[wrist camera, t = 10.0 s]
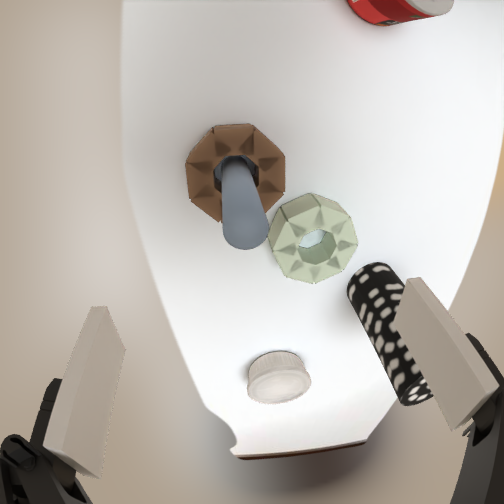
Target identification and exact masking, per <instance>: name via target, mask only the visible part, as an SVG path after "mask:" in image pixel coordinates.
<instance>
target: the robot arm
mask: <svg viewBox="0 0 504 504" xmlns="http://www.w3.org/2000/svg"><path fill="white" fill-rule="evenodd" d="M393 324H394V326H395V327H396V329H397V331H398V332H399V334H400V336H401V338H402V339H403V341H404V343H405V344H406V346H407V348H408V350H409V351H410V353H411V355H412V357H413V358H414V360H415V362H416V364H417V366H418V367H419V369H420V371H421V373H422V375H423V377H424V378H425V380H426V382H427V384H428V386H429V388H430V390H431V392H432V394H433V395H434V397H435V399H436V401H437V403H438V405H439V407H440V409H441V411H442V413H443V415H444V417H445V419H446V421H447V423H448V426H449V427H450V430H451V431H453V430H455V429H457V428H459V427H461V426H463V425H465V424H466V423H467V422H468V421H469V420H470V419H471V418H473V420H474V422H473V423H472V424H471V425H470V426H469V427H468V428H467V429H466V430H465V431H464V432H463V435H462V436H465V435H466V434H467V433H468V432H469V431H470V433H469V435H468V436H467V437H469V439H468V443H467V448H466V452H465V456H464V460H463V464H462V468H461V471H460V475H459V479H458V482H457V484H456V488H455V491H454V494H453V497H452V499H451V502H450V504H504V378H503V376H502V374H501V373H500V371H499V370H498V368H497V367H496V365H495V364H494V362H493V361H492V360H491V358H490V357H489V355H488V354H487V352H486V351H484V348H483V346H482V345H481V344H480V342H479V341H478V340H477V339H476V338H475V337H474V336H472V335H471V334H470V333H467V334H464V332H463V331H462V330H461V328H460V327H459V326H458V324H457V323H456V322H455V320H454V319H453V318H452V316H451V315H450V314H449V312H448V311H447V310H446V308H445V307H444V306H443V305H442V303H441V302H440V301H439V300H438V298H437V297H436V296H435V295H434V293H433V292H432V291H431V290H430V288H429V287H428V286H427V285H426V284H425V282H424V281H423V280H422V279H421V278H420V277H417V278H411V279H407V282H406V285H405V288H404V291H403V295H402V298H401V301H400V304H399V307H398V310H397V313H396V316H395V319H394V322H393ZM125 351H126V349H125V347H124V345H123V343H122V341H121V338H120V336H119V334H118V332H117V329H116V327H115V325H114V323H113V320H112V318H111V315H110V313H109V311H108V308H107V306H98V307H91V309H90V312H89V314H88V316H87V318H86V320H85V323H84V325H83V328H82V330H81V332H80V335H79V337H78V340H77V342H76V345H75V347H74V350H73V352H72V355H71V358H70V360H69V363H68V366H67V369H66V371H65V374H64V377H63V379H57V378H54V379H53V381H52V382H51V383H50V384H49V386H48V387H47V389H46V391H45V394H44V397H43V401H42V403H41V406H40V411H39V412H38V415H37V419H36V422H35V425H34V428H33V432H32V435H31V439H30V442H28V441H27V440H25V439H24V438H23V437H21V436H20V435H16V434H13V435H9V436H8V437H6V438H5V439H4V441H3V443H2V444H1V448H0V504H93V503H92V502H91V500H90V499H89V497H88V496H87V494H86V492H85V491H84V489H83V487H82V486H81V484H80V482H79V481H78V479H77V478H76V477H75V474H76V471H77V472H79V473H80V474H82V475H83V476H87V477H92V478H97V479H101V477H102V469H103V461H104V455H105V448H106V442H107V436H108V430H109V425H110V419H111V414H112V409H113V404H114V399H115V394H116V389H117V384H118V380H119V376H120V371H121V367H122V363H123V359H124V355H125Z"/></svg>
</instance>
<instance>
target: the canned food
mask: <svg viewBox="0 0 504 504" xmlns="http://www.w3.org/2000/svg"><path fill="white" fill-rule="evenodd" d="M347 1H348V3H349V5H350V6H351V8H352V9H353V10H354V12H355V13H356V14H357V15H359V16H360V17H361V18H362V19H364V20H366V21H368V22H369V23H372V24H375V25H380V26H390V25H394V24H399V23H403V22H408V21H413V20H418V19H424V18H429V17H434V16H439V15H443V14H446V13H447V12H449V11H450V10H451V8H452V6H453V3H454V0H347Z"/></svg>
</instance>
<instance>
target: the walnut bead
mask: <svg viewBox="0 0 504 504" xmlns="http://www.w3.org/2000/svg"><path fill="white" fill-rule="evenodd" d="M235 155H246V156H247V157H248V158H249V159H250V160H251V161H252V162H254V163H255V175H254V176H253V177H252V178H253V181H254V184H255V186H256V189H257V192H258V195H259V198H260V201H261V203H262V206H263V209H264V212H265V213H266V212H267V211H268V210H269V209H270V208H271V207H272V206H273V205H274V204H275V203H276V202H277V201H278V200H279V199H280V198H281V197H282V196H283V195H284V194H283V192H285V156H284V154H283V153H282V152H281V151H280V149H279V148H278V147H277V146H276V145H274V144H273V143H272V142H271V141H270V140H269V139H268V138H267V137H266V136H265V135H263V134H262V133H261V132H260V131H259V130H258V129H257V128H256V127H254V126H253V125H250V124H234V125H220V126H215V128H213V127H212V128H211V129H210V130H209V131H208V132H207V134H206V135H205V136H204V137H203V138H202V139H201V140H200V142H199V143H198V144H197V145H196V146H195V147H194V148H193V150H192V151H191V152H190V154H189V156H188V158H187V160H186V163H185V166H186V175H187V184H188V193H189V199H191V202H192V203H194V204H195V205H196V206H198V207H199V208H200V209H201V210H203V211H204V212H205V213H207V214H208V215H209V216H211V217H212V218H213V219H215V220H216V221H217V222H219V221H220V220H221V223H223V219H222V182H221V181H219V180H218V179H217V178H216V177H215V172H214V168H215V167H216V166H217V165H218V164H219V163H220V162H221V161H222V159H223V158H224V157H225V156H235Z"/></svg>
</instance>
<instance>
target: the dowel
mask: <svg viewBox="0 0 504 504" xmlns="http://www.w3.org/2000/svg"><path fill="white" fill-rule="evenodd" d="M221 174H222V219H223V235H224V237H225V239H226V241H227V242H228V243H229V244H230V245H231V246H233V247H235V248H238V249H243V250H247V249H252V248H255V247H257V246H259V245H260V244H262V243H263V242H264V240H265V239H266V237H267V235H268V232H269V224H268V221H267V218H266V215H265V212H264V209H263V206H262V203H261V201H260V198H259V195H258V192H257V189H256V186H255V184H254V181H253V178H252V175H251V172H250V170H249V167H248V164H247V162H246V160H245V159H244V158H243V157H242V156H240V155H235V156H228V157H226V158H225V159H224V161H223V162H222V166H221Z"/></svg>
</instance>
